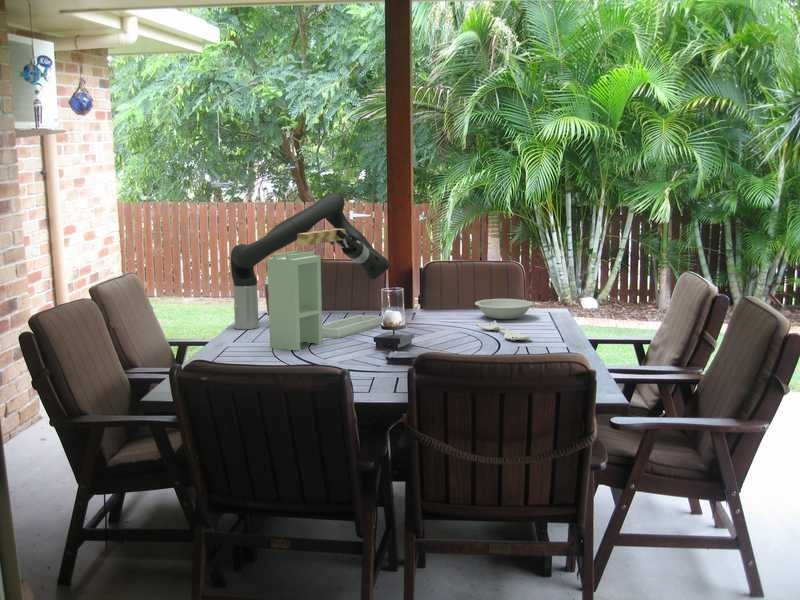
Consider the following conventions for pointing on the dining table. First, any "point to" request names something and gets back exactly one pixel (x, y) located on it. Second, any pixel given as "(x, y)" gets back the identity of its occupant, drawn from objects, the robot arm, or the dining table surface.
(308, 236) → the tan wooden bar
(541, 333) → the dining table surface
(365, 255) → the robot arm
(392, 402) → the dining table surface
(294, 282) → the stand
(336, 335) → the tray
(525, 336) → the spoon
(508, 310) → the soup bowl
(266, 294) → the smoothie
